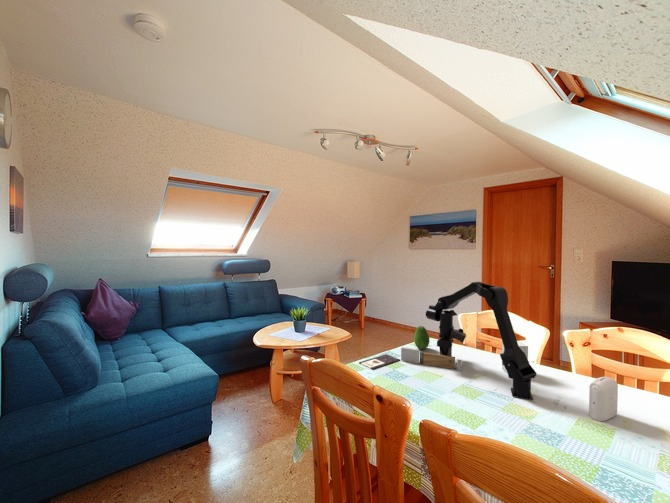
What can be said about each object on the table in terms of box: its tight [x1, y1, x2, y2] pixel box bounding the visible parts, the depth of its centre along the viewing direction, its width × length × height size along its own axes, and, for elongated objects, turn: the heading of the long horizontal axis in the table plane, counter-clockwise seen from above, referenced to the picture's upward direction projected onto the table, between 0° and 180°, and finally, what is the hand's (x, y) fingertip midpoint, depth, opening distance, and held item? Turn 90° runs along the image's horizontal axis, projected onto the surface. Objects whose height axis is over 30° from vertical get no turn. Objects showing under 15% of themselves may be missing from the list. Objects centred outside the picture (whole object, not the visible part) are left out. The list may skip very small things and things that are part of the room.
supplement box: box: [501, 340, 529, 373], centre depth 132 cm, size 7×7×13 cm
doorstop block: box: [439, 347, 453, 357], centre depth 143 cm, size 4×5×6 cm
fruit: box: [413, 325, 430, 350], centre depth 161 cm, size 8×8×12 cm
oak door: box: [419, 350, 456, 370], centre depth 139 cm, size 2×15×5 cm, turn 66°
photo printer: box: [588, 376, 619, 422], centre depth 99 cm, size 10×4×12 cm, turn 116°
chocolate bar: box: [358, 353, 401, 371], centre depth 143 cm, size 9×1×18 cm
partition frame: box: [400, 346, 462, 371], centre depth 140 cm, size 2×26×6 cm, turn 66°
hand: (445, 356), depth 143 cm, fingers closed on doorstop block, 4 cm apart
